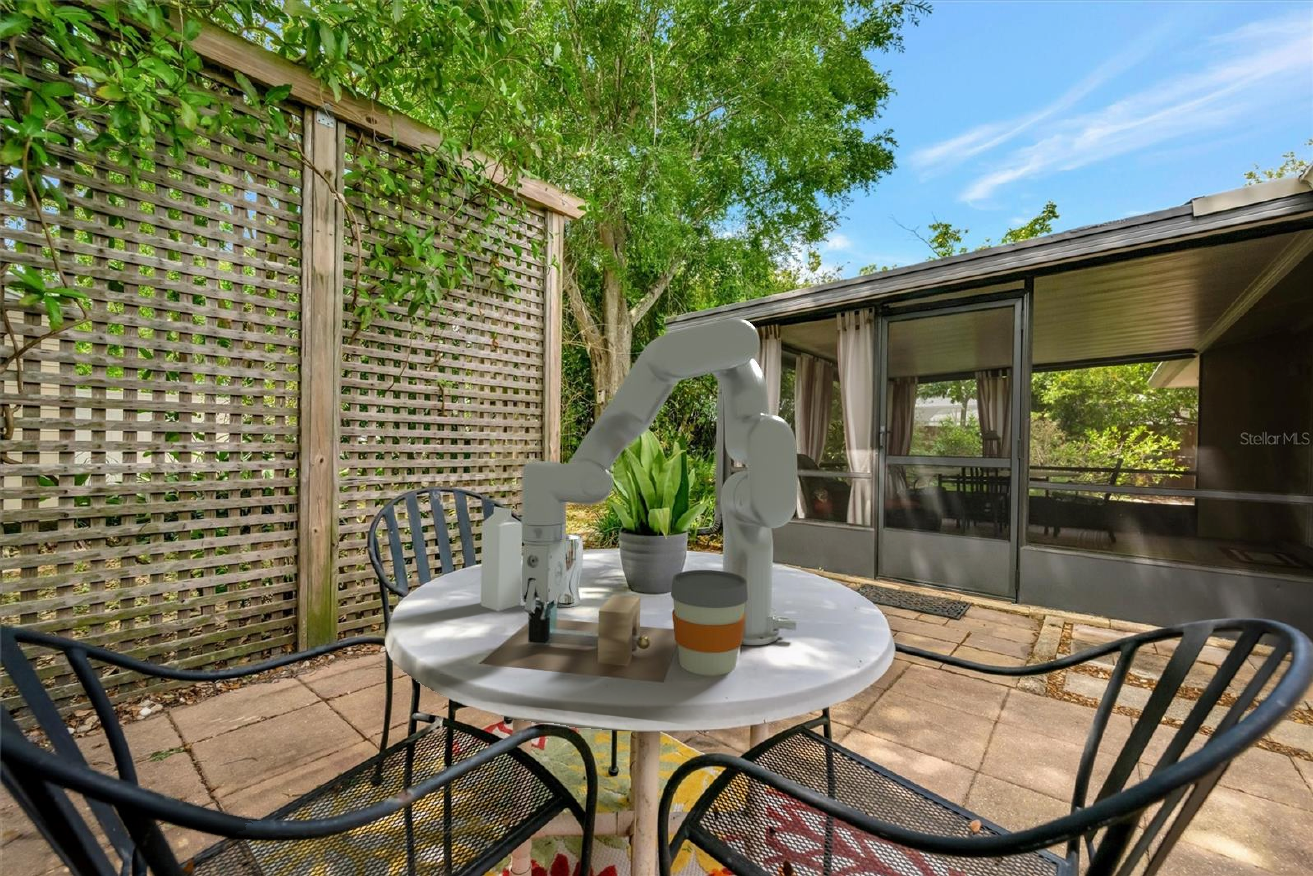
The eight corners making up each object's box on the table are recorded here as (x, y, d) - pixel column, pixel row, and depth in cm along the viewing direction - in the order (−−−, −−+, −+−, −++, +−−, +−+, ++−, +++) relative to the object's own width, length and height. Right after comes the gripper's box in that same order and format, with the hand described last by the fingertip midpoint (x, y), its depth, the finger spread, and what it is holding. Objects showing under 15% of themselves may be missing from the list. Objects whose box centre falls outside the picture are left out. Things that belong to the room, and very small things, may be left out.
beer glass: (579, 608, 120) (580, 540, 120) (547, 607, 120) (549, 539, 120) (584, 599, 127) (585, 534, 127) (554, 598, 127) (555, 533, 127)
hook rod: (651, 646, 94) (652, 611, 94) (648, 652, 91) (648, 616, 91) (534, 636, 98) (535, 602, 98) (528, 642, 95) (528, 607, 95)
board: (682, 636, 105) (682, 629, 105) (663, 690, 83) (663, 682, 83) (533, 623, 110) (533, 617, 110) (478, 671, 88) (478, 663, 88)
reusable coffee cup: (683, 692, 83) (685, 592, 82) (659, 658, 95) (661, 571, 95) (759, 683, 86) (761, 587, 86) (727, 651, 98) (729, 568, 98)
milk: (497, 617, 114) (498, 511, 114) (480, 610, 118) (481, 507, 117) (521, 609, 119) (522, 507, 118) (503, 604, 122) (505, 505, 122)
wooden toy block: (639, 644, 98) (640, 596, 98) (627, 665, 89) (628, 613, 88) (612, 642, 98) (613, 594, 98) (597, 663, 89) (598, 610, 89)
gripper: (546, 543, 87) (545, 658, 87) (579, 525, 103) (577, 623, 103) (502, 540, 88) (501, 654, 89) (541, 524, 104) (540, 620, 105)
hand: (542, 636), depth 96 cm, fingers closed on hook rod, 3 cm apart
